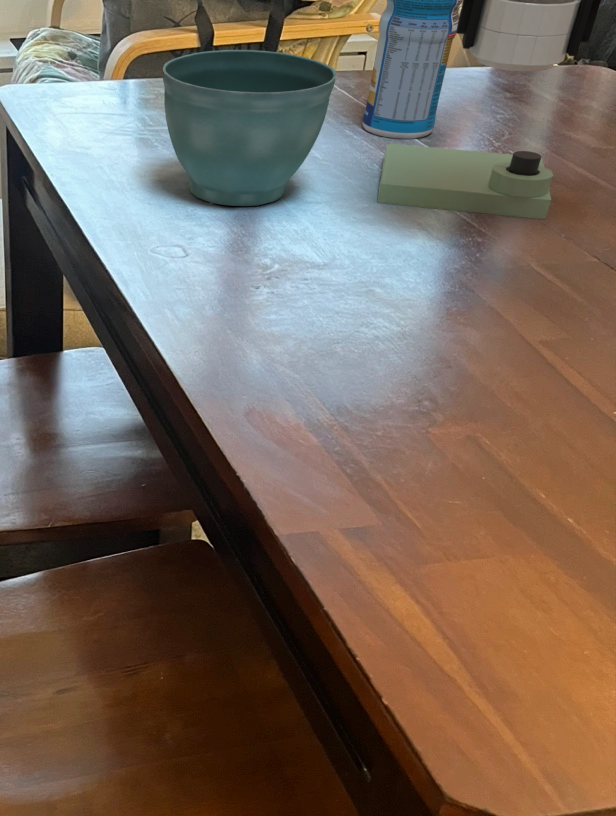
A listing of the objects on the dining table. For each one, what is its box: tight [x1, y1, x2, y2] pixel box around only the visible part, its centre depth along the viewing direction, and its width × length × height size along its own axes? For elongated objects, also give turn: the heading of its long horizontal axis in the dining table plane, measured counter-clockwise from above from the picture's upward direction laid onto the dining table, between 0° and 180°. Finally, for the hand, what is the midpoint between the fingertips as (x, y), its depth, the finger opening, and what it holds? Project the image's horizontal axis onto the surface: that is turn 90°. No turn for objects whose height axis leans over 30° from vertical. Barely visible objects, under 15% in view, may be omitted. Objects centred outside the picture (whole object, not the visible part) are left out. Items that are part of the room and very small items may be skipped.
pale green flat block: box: [376, 142, 554, 220], centre depth 106 cm, size 16×14×4 cm
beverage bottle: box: [362, 0, 463, 140], centre depth 116 cm, size 8×8×20 cm
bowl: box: [469, 0, 581, 73], centre depth 83 cm, size 7×7×4 cm
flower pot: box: [162, 49, 338, 207], centre depth 102 cm, size 16×16×11 cm
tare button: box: [508, 150, 542, 176], centre depth 101 cm, size 3×3×2 cm
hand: (518, 47), depth 84 cm, fingers closed on bowl, 7 cm apart
